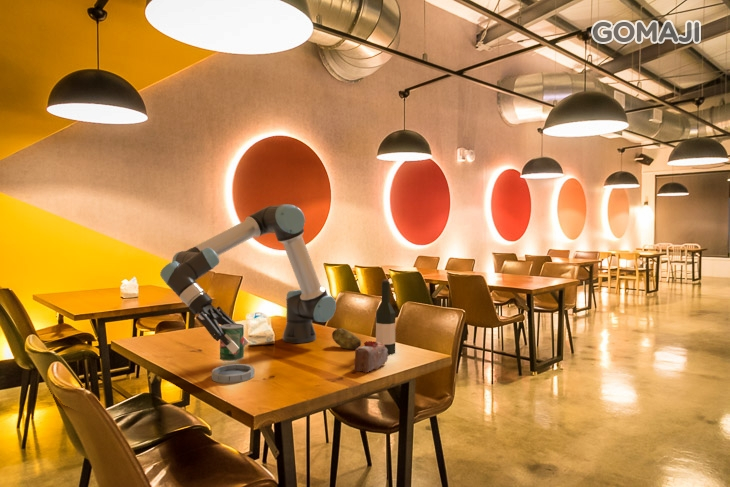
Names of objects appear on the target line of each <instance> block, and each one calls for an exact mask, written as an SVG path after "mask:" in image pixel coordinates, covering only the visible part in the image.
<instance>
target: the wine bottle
mask: <svg viewBox="0 0 730 487" xmlns="http://www.w3.org/2000/svg"><path fill="white" fill-rule="evenodd" d="M390 283H391V282H390V281H389V279H383V280H382V281H381V302H380V304H379V306H377V307H378V308H377V309H376V311H375V341H376V342H380V343H382V344H384V345H385V347H386V348H387V349H388V351H387V353H388V354H391V355H393V354H396V311H395V310H394V308H393V306H392V304H391V301H390V298H391V295H390V294H391V292H390V290H391V289H390V285H391V284H390Z"/></svg>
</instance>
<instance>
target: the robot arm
mask: <svg viewBox="0 0 730 487" xmlns="http://www.w3.org/2000/svg"><path fill="white" fill-rule="evenodd" d="M305 223H306V218H305V214H304V211H303V210H302V209H301V208H299V207H298V206H297V205H294V204H287V203H286V204H285V203H284V204H277V205H269V206H266V207H264V208H261V209H260V210H258V211H255V212H254V213H252V214H250V215H248V216H246V218H245V219H244V221H242V222H240V223H238V224H236V225H234V226H232V227H230V228H228V229H227V230H224V231H222V232H220V233H218V234H216V235H214V236H213V237H211V238H209V239H206V240H205V241H202V242H201V243H199V244H196V245H195V246H193V247H191V248H189V249H187V250H182V251H178V252H176V253H175V254H174V255H173V257H172V259H171V260H172V261H171V262H169V263H167V264H166V265H165V266H164V267H163V268H162V269H161V270H160V273H159V274H160V277H161V279H162V280H163V281H164V283H165V284H166V286H168V287H169V288H170V289H171V290H172V291H173V292H174V293H175V294H176V295H177V297H178V298H179V299H180V300H181V302H182V303H184V304H185V305H186V306H187V307H188V309H189V310H190V311H191V312H192V313H193V314H194V315H195V316H196V319H197V320H198V321H199V322H200V323H201V324H202V326H203V327H204V328H205V330H206V331H207V332H208V333H209V334H210V336H211V337H212V339H213V340H215V341H216V342H218V341H220V340H221V341H222V342H223V343H224V345H225V346H226V347H227V348H228V349H229V350H230V351H231V352H232V353H233V354H234V353H235V352H236V351H237V350H238V349H239V347H238V346H237V345H236V344H235V342H234V341H233V340H232V339H231V338H230V337H229V336H228V335H227V334H225V335H224V332H223V331H222V329H221V327H220V326H221V325H225V324H237V322H236V321H234V320H233V319H232V318H231V317H230V316H229V315H228V314H227V313H226V312H225V311H224V310H223V309H222V307H221V306H217V307H215V306H214V305H212V303H213V298H212V297H211V296H210V295H209V294H208V293H207V292H206V291H205V290H204V288H202V286H200V284H199V283H198V282H197V281H196V280H198V279H200V278H201V277H203V276H204V275H206V274H207V273H209V272H210V271H212V270H214V268H216V267H217V266H218V265H219V264H220V258H219V256H221V255H222V254H224V253H226V252H229V251H230V250H232V249H233V248H236V247H237V246H239V245H241V244H243V243H245V242H247V241H248V240H251V239H252V238H259V237H261V236H263V235H267V234H275V238H276V239H277V241H278V242H279V243H281V244H282V245H283V248H284V251H285V252H286V255H287V257H288V260H289V263H290V265H291V268H292V270H293V273H294V276H295V278H296V281H297V283H298V285H299V288H300V289H295V290H288V291H287V293H286V298H285V301H286V324H285V328H284V329H283V330H284V331H283V335H282V341H283V342H285V343H291V344H305V343H310V342H311V343H312V342H313V341H316V339H317V333H316V330H315V327H314V325H313V321H315V322H318V323H319V322H320V323H326V322H329V321H330V320H331V319H332V318H333V317H334V315H335V312H336V309H337V304H336V300H335V298H334V297H333V296H331V295H328V292H327V289H326V287H325V286H324V285H321V283H320V281H319V278H318V276H317V273H316V270H315V267H314V264H313V262H312V258H311V257H310V256H311V255H310V253H309V250H308V249H307V245H306V243H305V240H304V238H303V236H304V233H305V229H304V227H305ZM249 343H250V340H248V339H247V337H245V336H244V348H245V347H246V346H247V345H248V344H249Z"/></svg>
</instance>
